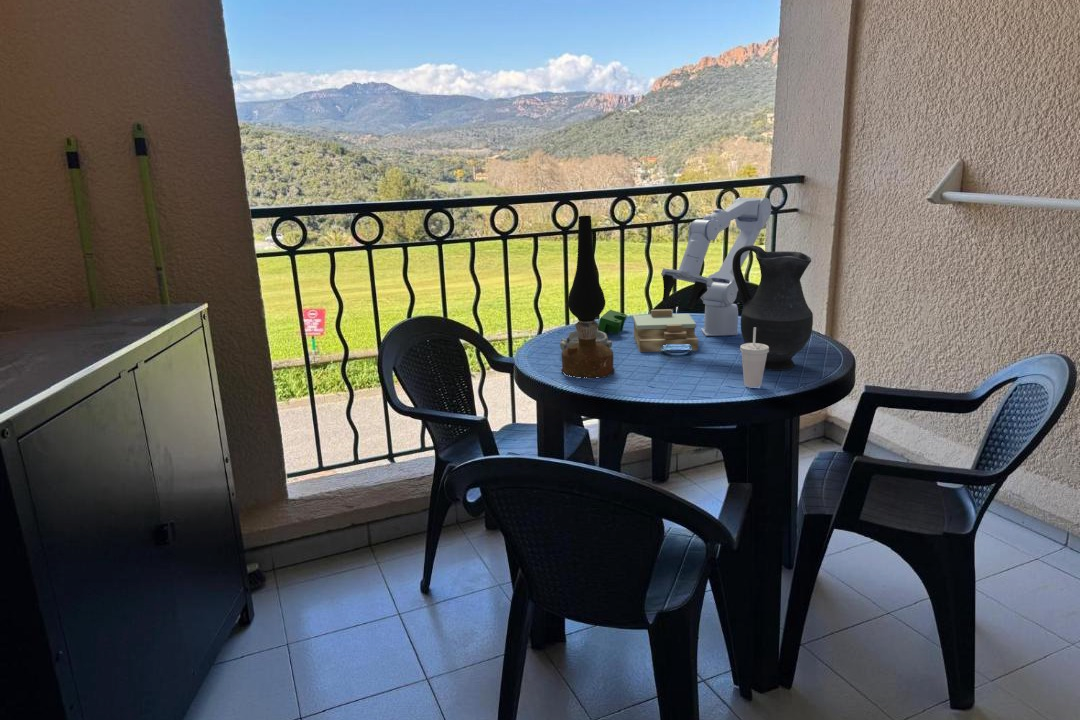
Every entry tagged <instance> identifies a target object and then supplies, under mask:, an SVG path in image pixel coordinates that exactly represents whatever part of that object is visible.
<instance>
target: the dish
mask: <svg viewBox="0 0 1080 720" xmlns="http://www.w3.org/2000/svg"><path fill="white" fill-rule="evenodd" d="M595 336H596V343H598V342H600V344H602V345H604V346H606V347H608V348H610V349H611V348H612V346H613V341H612V340H609V338H608V335H607V333H606V334H605V333H604V332H602V331H598V329H597V332H596V334H595ZM567 337H569V339H570V340H579V339H578V337H579V334H578V332H577V329H576V330H571V331H569V332H568V335H567ZM560 339H561V340H560V342H559V347H560V349H561V351H562V352H563V351H564V350H565V349H567V348H568V347H570V346H572V345H574V344H576V343H579V341H569V343H567V338H564V337H561V338H560ZM562 352H561V353H562Z"/></svg>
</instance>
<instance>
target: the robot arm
mask: <svg viewBox="0 0 1080 720" xmlns="http://www.w3.org/2000/svg"><path fill="white" fill-rule="evenodd" d="M771 215H772V203H771V200H770V199H769V198H768V197H741V196H740V197H738V198H735V199H734V201H733V204H731V205H729V206H728V207H726V209H721V208H715V209H714V210H713V212H712V213H710V214H707V215H705V216H704V217H703V218H702V219H699V218H698V219H695V220H693V221H691V223H690V224H689V226H688V237H687V238H686V239H687V245H686V248H685V251H684V253H683V257H682V259H681V261H680V265H679V268H678V269H670V268H664V267H663V268H662V271H661V274H660V275H661V277H662V281H663V284H662V285H663V292H662V293H663V294H662V295H663V296H662V299H661V300H662V302H663V303H665V304H668V301H669V299H670V295H671V292H672V290H673V288H674V286H675V284H676V281H675V279H676V280H680V281H683V282H684V281H685V282H688V283H693V284H694V286H693V290H692V294H691V297H690V299H689V302H688V305H687V307H688V309H689V310H693V309H694V306H696V304H697V302H698V301H699V299H701V301H702V304H703V305H704V327H701V328H700V330H701V332H702V333H703V334H704V336H705V337H717V336H718V337H721V336H723V337H724V336H738V335H739V334H738V327H739V326H738V325H739V321H738V320H739V308H738V307H739V306H738V304H737V303H734V302H735V301H736V300H737V297H738V296H737V295H738V293H739V290H738V287H737V284H736V281H735V278H734V274H733V268H732V264H733V258H734V255H735V253H736V252H737V251H738V250H739V249H740V248H742V247H744V246H750V245H755V244H756V241H757V239H758V238H759V236H760V233H761V230H763V229H764V228H765V226H766V224H767V222H768V220H769V219H770V217H771ZM733 220H735V224H736V228H738V229H739V234H738V236H737V237H736V239H735V240H734V242H733V245H732V247H731V249H730V250H729V252H728V254H727V256H726V257H725V259H724V261H723V262H722V264H721V266H720V268H719V270H718V271H715V272H714V273H711V274H709V275H708V276H702V275H700V272H701V269H702V267H703V263H704V260H705V259H706V256H707V252H708V249H709V247H710V243H711V241H712V242H713V241H715V240H716V239H717V238H718V235H719V233H721V232H722V231H723V230H725V229H726V228H728V227H729V226H730V224H731V222H732V221H733ZM750 252H751V251H746V252H744V253H743V254H742V255H741V260H740V266H741V268H742V267H743V265H744V263H745V261H746V259H747V258H748V256H749V254H750Z"/></svg>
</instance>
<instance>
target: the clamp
mask: <svg viewBox="0 0 1080 720" xmlns="http://www.w3.org/2000/svg"><path fill="white" fill-rule="evenodd" d="M627 316H628V314H626V313H623V312H620V311H617V310H612V309H609V310H607V312H606V313H604V314H602V316H601V317H599V322H598V324H599V326H598V329H597V330H598V331H602V332H604V333H605V334H606V335H607V333H611V334H613V335H619V333H620V331H621V332H622V331H623V329H624V325H625V322H626V320H627Z"/></svg>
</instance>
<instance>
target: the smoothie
mask: <svg viewBox="0 0 1080 720" xmlns="http://www.w3.org/2000/svg"><path fill="white" fill-rule="evenodd" d="M755 339H756V327H754V330H753V343H746V344H745V343H743V344H740V346H739V347H740V349H739V351H740V352H741V360H742V361H741V362H742V363H741V364H742V373H743V384H744V385H745V386H748V387H759V386H761V387H762V382H763V378H764V371H765V369H764V368H765V362H766V357H767V353H768V352H769V346H767V345H765V344H760V343H755ZM744 385H743V386H744ZM745 386H744V387H745Z"/></svg>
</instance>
